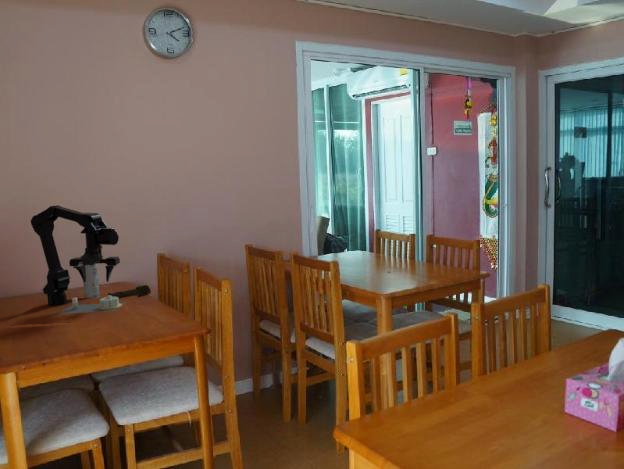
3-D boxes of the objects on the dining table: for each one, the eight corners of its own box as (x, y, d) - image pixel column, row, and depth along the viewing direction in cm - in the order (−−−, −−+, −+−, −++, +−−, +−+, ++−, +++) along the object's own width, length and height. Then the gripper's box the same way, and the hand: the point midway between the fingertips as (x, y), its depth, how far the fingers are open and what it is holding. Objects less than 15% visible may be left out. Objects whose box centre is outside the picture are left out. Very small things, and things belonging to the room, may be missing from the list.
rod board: (58, 316, 223) (57, 301, 222) (72, 307, 237) (71, 293, 236) (116, 313, 223) (114, 298, 223) (126, 304, 237) (125, 290, 237)
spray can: (96, 299, 251) (92, 254, 248) (82, 300, 251) (77, 255, 248) (102, 296, 257) (98, 252, 255) (87, 296, 257) (83, 253, 255)
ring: (98, 308, 227) (97, 300, 226) (104, 304, 233) (103, 297, 233) (115, 307, 227) (114, 300, 226) (120, 303, 233) (120, 296, 233)
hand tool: (110, 302, 244) (109, 292, 243) (107, 301, 247) (106, 290, 246) (152, 295, 255) (152, 285, 255) (149, 293, 258) (148, 283, 258)
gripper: (62, 247, 223) (65, 286, 225) (109, 246, 223) (112, 285, 225) (73, 243, 234) (76, 281, 236) (119, 242, 234) (121, 280, 236)
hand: (96, 282), depth 233 cm, fingers open, 9 cm apart
